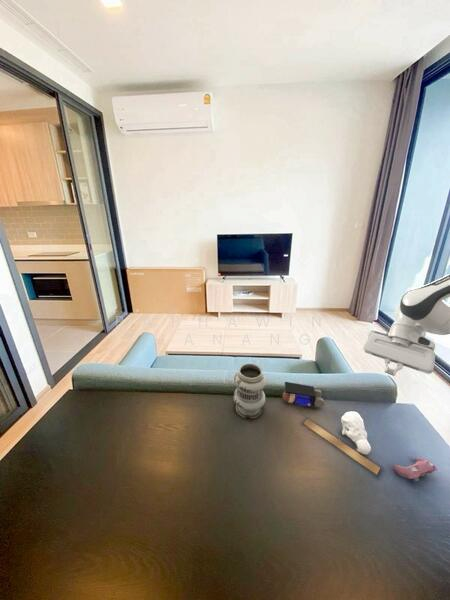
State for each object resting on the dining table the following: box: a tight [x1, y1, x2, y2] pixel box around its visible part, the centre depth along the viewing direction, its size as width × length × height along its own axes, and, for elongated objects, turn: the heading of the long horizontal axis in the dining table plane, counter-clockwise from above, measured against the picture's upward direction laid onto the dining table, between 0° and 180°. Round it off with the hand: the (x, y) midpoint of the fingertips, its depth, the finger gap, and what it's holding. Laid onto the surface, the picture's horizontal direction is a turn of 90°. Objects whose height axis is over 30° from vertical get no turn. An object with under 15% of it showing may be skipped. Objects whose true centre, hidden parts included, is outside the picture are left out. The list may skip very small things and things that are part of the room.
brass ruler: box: [303, 418, 381, 476], centre depth 80 cm, size 24×3×1 cm, turn 42°
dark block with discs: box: [282, 381, 325, 409], centre depth 96 cm, size 7×8×15 cm
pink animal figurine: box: [393, 457, 438, 482], centre depth 70 cm, size 10×5×7 cm, turn 105°
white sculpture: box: [340, 410, 372, 455], centre depth 80 cm, size 6×8×12 cm
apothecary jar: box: [232, 363, 267, 420], centre depth 91 cm, size 12×12×18 cm
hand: (389, 374), depth 83 cm, fingers closed
